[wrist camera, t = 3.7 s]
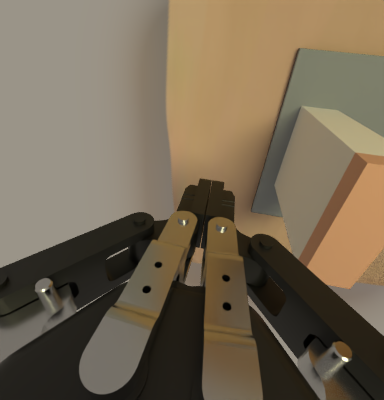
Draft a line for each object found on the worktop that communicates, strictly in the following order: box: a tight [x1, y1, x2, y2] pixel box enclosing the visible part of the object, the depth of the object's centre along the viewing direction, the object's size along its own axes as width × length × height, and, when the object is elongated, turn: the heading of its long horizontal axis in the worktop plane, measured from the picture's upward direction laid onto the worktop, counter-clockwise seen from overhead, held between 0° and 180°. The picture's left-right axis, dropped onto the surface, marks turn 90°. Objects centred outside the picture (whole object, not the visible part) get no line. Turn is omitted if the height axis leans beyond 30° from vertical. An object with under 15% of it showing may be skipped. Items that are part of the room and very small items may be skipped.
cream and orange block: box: [274, 106, 384, 289], centre depth 16 cm, size 3×8×12 cm, turn 175°
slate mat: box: [251, 48, 384, 217], centre depth 21 cm, size 18×16×1 cm
